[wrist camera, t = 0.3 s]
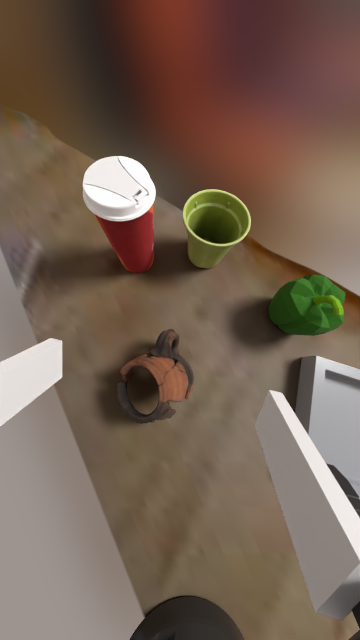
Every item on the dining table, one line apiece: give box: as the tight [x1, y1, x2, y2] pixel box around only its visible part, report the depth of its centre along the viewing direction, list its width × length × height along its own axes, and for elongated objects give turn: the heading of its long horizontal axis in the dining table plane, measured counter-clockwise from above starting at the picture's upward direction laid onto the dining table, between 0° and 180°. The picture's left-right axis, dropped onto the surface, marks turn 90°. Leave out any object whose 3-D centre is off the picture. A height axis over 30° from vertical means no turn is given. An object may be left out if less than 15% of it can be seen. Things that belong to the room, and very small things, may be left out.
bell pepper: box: [268, 275, 345, 336], centre depth 26 cm, size 8×8×10 cm
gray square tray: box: [295, 356, 360, 499], centre depth 26 cm, size 16×16×3 cm
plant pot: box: [183, 189, 251, 269], centre depth 29 cm, size 9×9×9 cm
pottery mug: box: [116, 329, 194, 424], centre depth 25 cm, size 12×10×8 cm
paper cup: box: [83, 156, 155, 273], centre depth 25 cm, size 8×8×14 cm
